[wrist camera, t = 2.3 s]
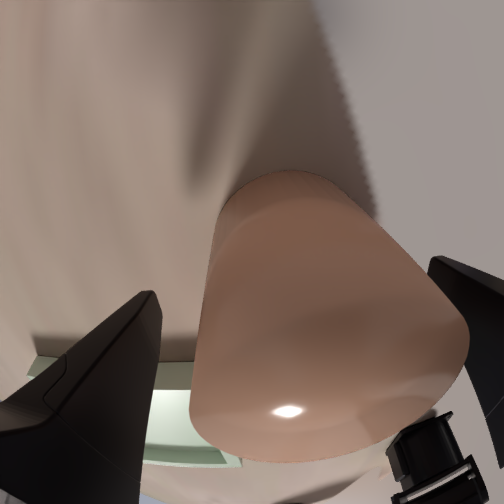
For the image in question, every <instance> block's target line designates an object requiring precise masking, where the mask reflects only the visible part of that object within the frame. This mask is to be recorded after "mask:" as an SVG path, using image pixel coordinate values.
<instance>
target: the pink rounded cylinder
mask: <svg viewBox="0 0 504 504" xmlns="http://www.w3.org/2000/svg"><path fill="white" fill-rule="evenodd" d="M469 341H470V335H469V329H468V326H467V323H466V321H465V319H464V317H463V316H462V315H461V314H460V312H459V311H458V310H457V309H456V307H455V306H454V305H453V304H452V303H451V301H450V300H449V299H448V298H447V297H446V295H445V294H444V293H443V292H442V291H441V290H440V288H439V287H438V286H437V285H436V284H435V283H434V282H433V280H432V279H431V278H430V277H429V276H428V275H427V274H426V273H425V272H424V270H423V269H422V268H421V267H420V266H419V265H418V264H417V263H416V262H415V261H414V260H413V259H412V258H411V256H410V255H409V254H408V253H407V252H406V251H405V250H404V249H403V248H402V247H401V246H400V245H399V244H398V243H397V242H396V241H395V240H394V239H393V238H392V237H391V236H390V235H389V234H388V233H387V232H386V231H385V230H384V229H383V228H382V227H381V226H380V225H379V224H378V223H377V222H376V221H375V220H374V219H372V218H371V217H370V216H369V215H368V214H367V213H366V212H365V211H364V210H363V209H362V208H361V207H360V206H358V205H357V204H356V203H355V202H354V201H353V200H352V199H351V198H350V197H349V196H347V195H346V194H345V193H344V192H343V191H342V190H341V189H339V188H338V187H337V186H336V185H335V184H333V183H332V182H330V181H329V180H327V179H325V178H323V177H321V176H318V175H316V174H312V173H309V172H304V171H296V170H293V171H279V172H273V173H270V174H266V175H263V176H261V177H258V178H256V179H254V180H252V181H251V182H249V183H247V184H246V185H244V186H243V187H242V188H240V189H239V190H238V191H237V192H236V193H235V194H234V195H233V196H232V197H231V198H230V199H229V200H228V202H227V203H226V205H225V206H224V207H223V209H222V211H221V213H220V215H219V217H218V220H217V223H216V226H215V231H214V236H213V242H212V248H211V254H210V260H209V266H208V272H207V278H206V284H205V290H204V297H203V303H202V310H201V317H200V324H199V331H198V338H197V345H196V353H195V360H194V368H193V376H192V385H191V393H190V402H189V416H190V420H191V423H192V425H193V427H194V429H195V430H196V431H197V433H198V434H199V435H200V436H201V437H202V438H203V439H204V440H205V441H206V442H208V443H209V444H211V445H212V446H214V447H215V448H217V449H219V450H221V451H224V452H226V453H228V454H231V455H234V456H237V457H241V458H244V459H249V460H254V461H260V462H270V463H300V462H310V461H317V460H323V459H328V458H333V457H337V456H341V455H345V454H348V453H351V452H355V451H357V450H360V449H363V448H366V447H368V446H371V445H373V444H375V443H378V442H380V441H382V440H384V439H386V438H388V437H390V436H392V435H393V434H395V433H397V432H399V431H400V430H402V429H404V428H405V427H407V426H408V425H410V424H411V423H413V422H414V421H416V420H417V419H418V418H419V417H421V416H422V415H423V414H425V413H426V412H427V411H428V410H429V409H430V408H431V407H433V406H434V405H435V404H436V403H437V402H438V401H439V400H440V399H441V398H442V397H443V395H444V394H445V393H446V392H447V391H448V389H449V388H450V387H451V385H452V384H453V383H454V381H455V380H456V378H457V377H458V375H459V373H460V371H461V369H462V367H463V365H464V363H465V360H466V357H467V354H468V350H469Z"/></svg>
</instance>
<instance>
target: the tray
mask: <svg viewBox="0 0 504 504" xmlns="http://www.w3.org/2000/svg"><path fill="white" fill-rule="evenodd" d="M57 359H58V358H53V357H44V356H37V357H36V358H35V360H34V362H33V364H32V366H31V368H30V369H29V371H28V373H27V377H28V378H29V379H30V380H32V379H33V378H35V377H36V376H37V375H39V374H40V373H41V372H43V371H44V370H45V369H46V368H48V367H49V366H50V365H51V364H52V363H54V362H55V361H56V360H57ZM193 368H194V362H167V363H158V368H157V373H156V378H155V384H154V390H153V395H152V401H151V407H150V413H149V420H148V427H147V433H146V441H145V448H144V456H143V463H147V464H156V465H166V466H179V467H201V468H230V467H243V466H242V458H241V457H237V456H234V455H231V454H228V453H226V452H224V451H221V450H219V449H217V448H215V447H214V446H212V445H211V444H209V443H208V442H206V441H205V440H204V439H203V438H202V437H201V436H200V435H199V434H198V433H197V431H196V430H195V429H194V427H193V425H192V423H191V420H190V416H189V402H190V393H191V385H192V376H193Z"/></svg>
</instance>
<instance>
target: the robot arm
mask: <svg viewBox="0 0 504 504" xmlns="http://www.w3.org/2000/svg"><path fill="white" fill-rule="evenodd" d="M427 275H428V276H429V277H430V278H431V279H432V280H433V282H434V283H435V284H436V285H437V286H438V287H439V288H440V290H441V291H442V292H443V293H444V294H445V295H446V297H447V298H448V299H449V300H450V301H451V303H452V304H453V305H454V306H455V307H456V309H457V310H458V311H459V312H460V314H461V315H462V316H463V317H464V319H465V321H466V323H467V326H468V329H469V335H470V341H469V350H468V354H467V357H466V360H465V363H464V366H465V368H466V370H467V372H468V375H469V377H470V380H471V382H472V384H473V387H474V389H475V392H476V394H477V397H478V400H479V402H480V405H481V408H482V410H483V413H484V416H485V418H486V419H485V420H486V422H487V426H488V429H489V432H490V435H491V438H492V442H493V445H494V449H495V452H496V456H497V460H498V464H499V467H500V469H501V468H503V467H504V280H502V279H500V278H497V277H495V276H493V275H490V274H488V273H485V272H483V271H480V270H478V269H476V268H473V267H470V266H468V265H465V264H463V263H460V262H458V261H455V260H453V259H450V258H447V257H445V256H435V257H432V258H431V260H430V264H429V268H428V272H427ZM162 319H163V316H162V311H161V308H160V305H159V302H158V299H157V296H156V294H155V292H154V291H153V290H149V291H141V292H139V293H138V294H137V295H136V296H134V297H133V298H132V299H130V300H129V301H128V302H127V303H125V304H124V305H123V306H122V307H120V308H119V309H118V310H117V311H115V312H114V313H113V314H112V315H110V316H109V317H108V318H107V319H105V320H104V321H103V322H102V323H101V324H99V325H98V326H97V327H96V328H94V329H93V330H92V331H91V332H90V333H88V334H87V335H86V336H85V337H83V338H82V339H81V340H80V341H79V342H77V343H76V344H75V345H74V346H73V347H71V348H70V349H69V350H68V351H67V352H66V354H63V355H62V356H61V357H60V358H58V359H57V360H56V361H55V362H54V363H52V364H51V365H50V366H49V367H48V368H46V369H45V370H44V371H43V372H41V373H40V374H39V375H37V376H36V377H35V378H33V379H32V380H31V381H29V382H28V383H27V384H25V385H24V386H23V387H21V388H20V389H19V390H17V391H16V392H15V393H13V394H12V395H11V396H9V397H8V398H7V399H5V400H4V401H2V402H0V504H139V495H140V484H141V483H140V482H141V473H142V464H143V456H144V448H145V441H146V433H147V427H148V420H149V413H150V407H151V401H152V395H153V390H154V384H155V378H156V373H157V368H158V362H159V354H160V341H161V330H162ZM452 415H453V412H452V411H450V412H447V413H445V414H443V415H441V416H438V417H436V418H433V419H431V420H429V421H426V422H423V423H421V424H418V425H416V426H413V427H410V428H407V429H405V430H403V431H401V432H400V434H399V435H398V436H397V438H396V439H395V440H394V442H393V443H392V444H391V446H390V447H389V448H388V449H387V451H386V452H385V453H386V456H388V459H389V462H390V465H391V468H392V472H393V475H394V478H395V481H396V482H399V481H400V482H401V485H402V489H403V492H401V493H397V494H394V496H393V497H391V501H392V504H484V503H486V502H488V501H489V496H488V492H487V489H486V486H485V483H484V481H483V479H482V476H481V474H480V472H479V469H478V467H477V465H476V463H475V461H474V458H473V456H472V455H469V456H468V457H467V458H466V459H464V458H463V456H462V453H461V451H460V449H459V446H458V444H457V441H456V439H455V437H454V435H453V432H452V430H451V428H450V426H449V424H448V420H449V419H450V418H451V416H452ZM466 467H468V470H467V471H465V472H464V473H462V474H460V475H459V476H457V477H455V478H454V479H452V480H450V481H448V482H447V483H445V484H443V485H441V486H439V487H437V488H435V489H433V490H431V491H429V492H427V493H425V494H423V495H421V496H418V497H416V498H414V499H412V500H409V501H408V499H407V498H408V497H410V496H413V495H415V494H417V493H419V492H421V491H423V490H426V489H428V488H430V487H432V486H433V485H435V484H437V483H439V482H441V481H443V480H445V479H447V478H448V477H450V476H452V475H454V474H456V473H457V472H459V471H461V470H462V469H464V468H466ZM470 477H471V479H470V480H469V478H470Z"/></svg>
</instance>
